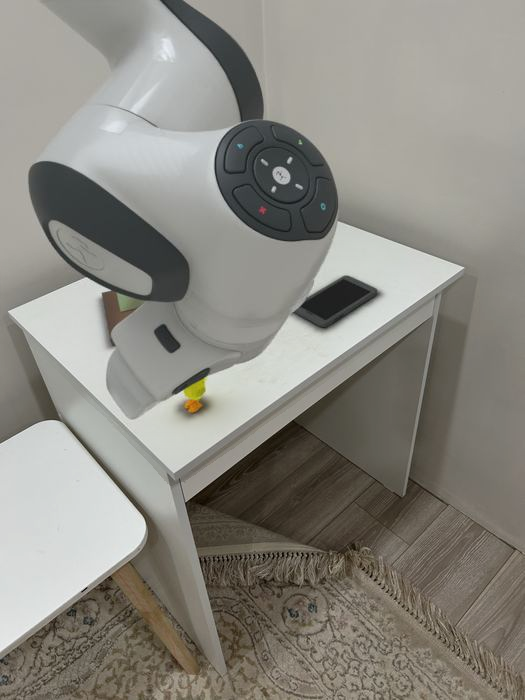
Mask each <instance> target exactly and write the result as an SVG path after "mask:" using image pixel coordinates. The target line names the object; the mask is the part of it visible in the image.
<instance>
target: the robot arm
mask: <svg viewBox="0 0 525 700" xmlns="http://www.w3.org/2000/svg"><path fill="white" fill-rule="evenodd" d="M37 1H38V2H39V3H40V4H41V5H43V6H44V7H45V8H46V9H47V10H49V11H50V12H51V13H52V14H53V15H55V16H56V17H57V18H58V19H60V20H61V21H62V22H63V23H64V24H66V25H67V26H68V27H69V28H70V29H72V30H73V31H74V32H75V33H76V34H78V35H79V36H80V37H81V38H82V39H84V40H85V41H86V42H87V43H88V44H90V45H91V46H92V47H93V48H95V49H96V50H97V51H98V53H100V54H101V55H102V56H103V58H105V60H106V62H107V63H108V65H109V68H110V72H109V73H108V74H107V75H106V77H105V78H104V79H103V80H102V82H101V83H100V84H99V85H98V86H97V87H96V89H95V90H94V91H93V92H92V93H91V95H90V96H89V98H87V100H86V101H85V102H84V103H83V105H81V106H80V108H78V109H77V110H76V111H75V112H74V113H73V114H71V116H70V117H69V119H68V120H67V121H66V123H65V124H64V125H63V126H62V127H61V128H60V129H59V131H58V132H57V133H56V135H55V136H54V137H53V139H52V140H51V141H50V142H49V144H48V145H46V147H45V149H44V150H43V151H42V152H41V153H40V154H39V156H38V157H37V159H36V160H35V162H34V163H33V164H32V165H30V168H29V170H28V175H27V184H28V193H29V198H30V201H31V205H32V208H33V211H34V213H35V216H36V218H37V220H38V222H39V225H40V226H41V229H42V230H43V233H44V234H45V237H46V238H47V240H48V242H49V243H50V245H51V247H53V249H54V250H55V252H56V253H57V254H58V255H59V256H60V257H61V258H62V260H64V262H66V264H68V265H69V266H70V267H71V268H72V269H73V270H75V271H76V272H78V273H79V274H81V275H82V276H84V277H86V278H87V279H89V280H90V281H92V282H94V283H96V284H97V285H99V286H101V287H103V288H105V289H108V290H109V291H114V292H117V293H119V294H122V295H125V296H128V297H131V298H135V299H139V300H144V301H145V302H144V303H143V304H141V305H140V306H139V307H138V308H137V309H135V310H134V311H133V312H132V313H130V314H129V315H128V316H127V317H126V318H125V319H123V320H122V321H121V322H120V323H118V324H117V325H116V326H115V327H114V328H113V330H112V332H111V338H112V340H113V342H114V344H115V345H114V346H115V349H114V350H113V351H112V353H111V354H110V356H109V358H108V361H107V365H106V372H105V384H106V389H107V391H108V393H109V395H110V396H111V398H112V400H113V401H114V402H115V404H116V405H117V407H118V408H119V409H120V411H121V412H122V413H123V414H124V415H125V417H126V418H127V419H129V420H131V421H134V420H136V419H139V418H140V417H142V416H144V415H145V414H146V413H147V412H149V411H150V410H152V409H153V408H155V407H156V406H157V405H159V404H160V403H162V402H164V401H167V400H168V399H170V398H172V397H173V396H177V395H178V394H179V393H181V392H184V391H183V390H184V389H186V388H188V387H189V386H191V385H193V384H195V383H196V382H198V381H200V380H202V379H204V378H205V377H207V378H208V377H209V376H212V375H214V374H218V373H219V372H222V371H225V370H227V369H230V368H232V367H234V366H235V365H240V364H241V365H242V364H244V363H247V362H249V361H252V360H254V359H256V358H257V357H259V356H261V354H262V353H264V352H265V351H266V350H267V348H269V346H270V345H271V343H272V342H273V341H274V339H275V338H276V336H277V335H278V334H279V332H280V330H281V329H282V327H283V326H284V324H285V323H286V322H287V320H288V318H289V316H290V315H291V314H292V313H295V312H294V311H295V310H296V309H298V308H299V307H300V306H301V305H302V304H303V303H304V301H305V300H306V298H307V297H309V296H310V293H311V291H312V289H313V287H314V284H315V278H316V277H317V275H318V274H319V271H320V270H321V268H322V266H323V264H324V262H325V260H326V258H327V256H328V254H329V252H330V249H331V247H332V244H333V241H334V239H335V235H336V232H337V227H338V221H339V213H340V204H339V203H340V202H339V192H338V188H337V183H336V179H335V177H334V174H333V171H332V169H331V167H330V164H329V163H328V161H327V159H326V157H325V156H324V155H323V153H322V152H321V150H320V149H319V148H318V147H317V146H316V145H315V144H314V143H313V141H311V140H310V139H309V138H308V137H307V136H305V135H304V134H303V133H301V132H300V131H298V130H296V129H295V128H293V127H291V126H289V125H287V124H284V123H282V122H278V121H274V120H270V119H264V114H265V107H264V106H265V104H264V103H265V102H264V96H263V95H264V94H263V90H262V87H261V83H260V80H259V77H258V74H257V72H256V70H255V67H254V66H253V64H252V62H251V60H250V58H249V56H248V55H247V52H246V51H245V50H244V49H243V48H242V46H241V45H240V43H239V42H238V41H237V40H236V39H235V38H234V37H233V36H232V35H231V34H230V33H228V31H226V30H225V28H223V27H221V25H219V24H218V23H216V22H215V21H214V20H212V19H211V18H209V17H208V16H206V15H205V14H203V13H202V12H201V11H199V10H198V9H196V8H195V7H193V6H192V5H191V4H190V3H187V2H186V1H185V0H37Z"/></svg>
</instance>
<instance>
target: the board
mask: <svg viewBox="0 0 525 700" xmlns="http://www.w3.org/2000/svg"><path fill="white" fill-rule="evenodd" d="M101 298H102V304H103V309H104V315H105V320H106V324H107V331H108V336H109V340H110V344H111V346H116V345H115V344H114V342H113V340H112V338H111V332H112V330H113V328H114V327H115V326H116V325H117V324H118V323H120V322H121V321H122V320H123V319H125V318H126V317H127V316H128V315H129V314H130V313H132V312H133V311H134V310H135V309H137V308H138V307H139V306H140V305H141V304H143V303H144V302H145V301H144V300H139V299H135V298H131V297H128V296H125V295H122V294H119V293H117V292H114V291H112V290H107V291H103V292H101Z"/></svg>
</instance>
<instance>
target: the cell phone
mask: <svg viewBox="0 0 525 700" xmlns="http://www.w3.org/2000/svg"><path fill="white" fill-rule="evenodd" d="M378 292H379V291H378V289H377V288H376V287H375V286H372V285H370V284H368V283H366V282H364V281H362V280H359V279H357V278H355V277H353V276H350V275H343V276H341V277H339V278H338V279H336V280H334V281H333V282H331V283H329V284H328V285H325V286H324V287H323V288H320V289H319V290H317V291H316V292H314V293H313V294H311V295H308V296H307V298H306V300H305V301H304V303H303V304H302V305H301V306H300V307H299V308H298V309H296V310H295V311H294V312H293V313H295V314H297V315H298V316H300V317H302V318H304V319H306V320H308V321H309V322H311V323H313V324H314V325H317V326H318V327H321V328H326V327H328V326H330V325H332V324H333V323H335V322H336V321H338V320H339V319H341V318H342V317H344V316H346V315H347V314H349V313H350V312H352V311H354V310H355V309H356V308H358V307H359V306H361V305H363V304H364V303H366V302H367V301H369V300H370V299H372V298H373V297H375V296H376V295H377V294H378Z"/></svg>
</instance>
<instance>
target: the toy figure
mask: <svg viewBox="0 0 525 700" xmlns="http://www.w3.org/2000/svg"><path fill="white" fill-rule="evenodd" d="M207 378H208V376H207V377H205V378H204V379H202V380H200V381H198V382H196V383H195V384H193V385H191V386H189V387H188V388H186V389H184V390H183V391H182V392H183V394H184V397H186V398H187V399H188V400H187V401H186V402H185V404H184V408H185V409H186V410H188V412H189V413H190V414H193V413H196V412H197V411H199V410H200V409H201V408H202V407H203V404H202V403H201V402H200V399H202V397H203V395H204V394H205V393H206V391H207V389H206V384H205V383H206V381H207Z"/></svg>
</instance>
